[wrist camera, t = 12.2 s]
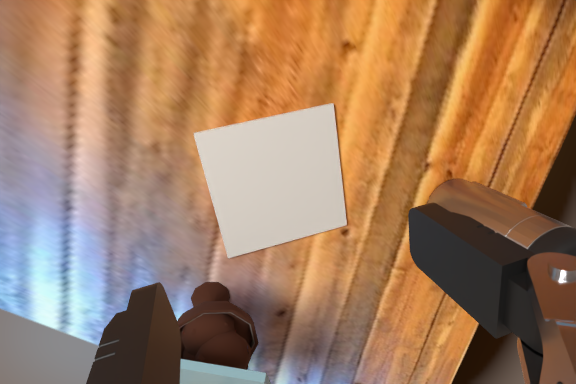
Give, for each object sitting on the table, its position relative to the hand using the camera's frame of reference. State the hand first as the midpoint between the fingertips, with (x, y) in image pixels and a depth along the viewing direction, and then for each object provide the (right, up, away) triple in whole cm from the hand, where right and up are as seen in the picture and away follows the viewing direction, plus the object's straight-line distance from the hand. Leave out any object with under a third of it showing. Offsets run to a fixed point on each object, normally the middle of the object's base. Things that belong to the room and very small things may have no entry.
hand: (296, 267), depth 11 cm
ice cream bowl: (-12, -13, +40) cm, 44 cm away
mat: (-2, +4, +36) cm, 36 cm away
